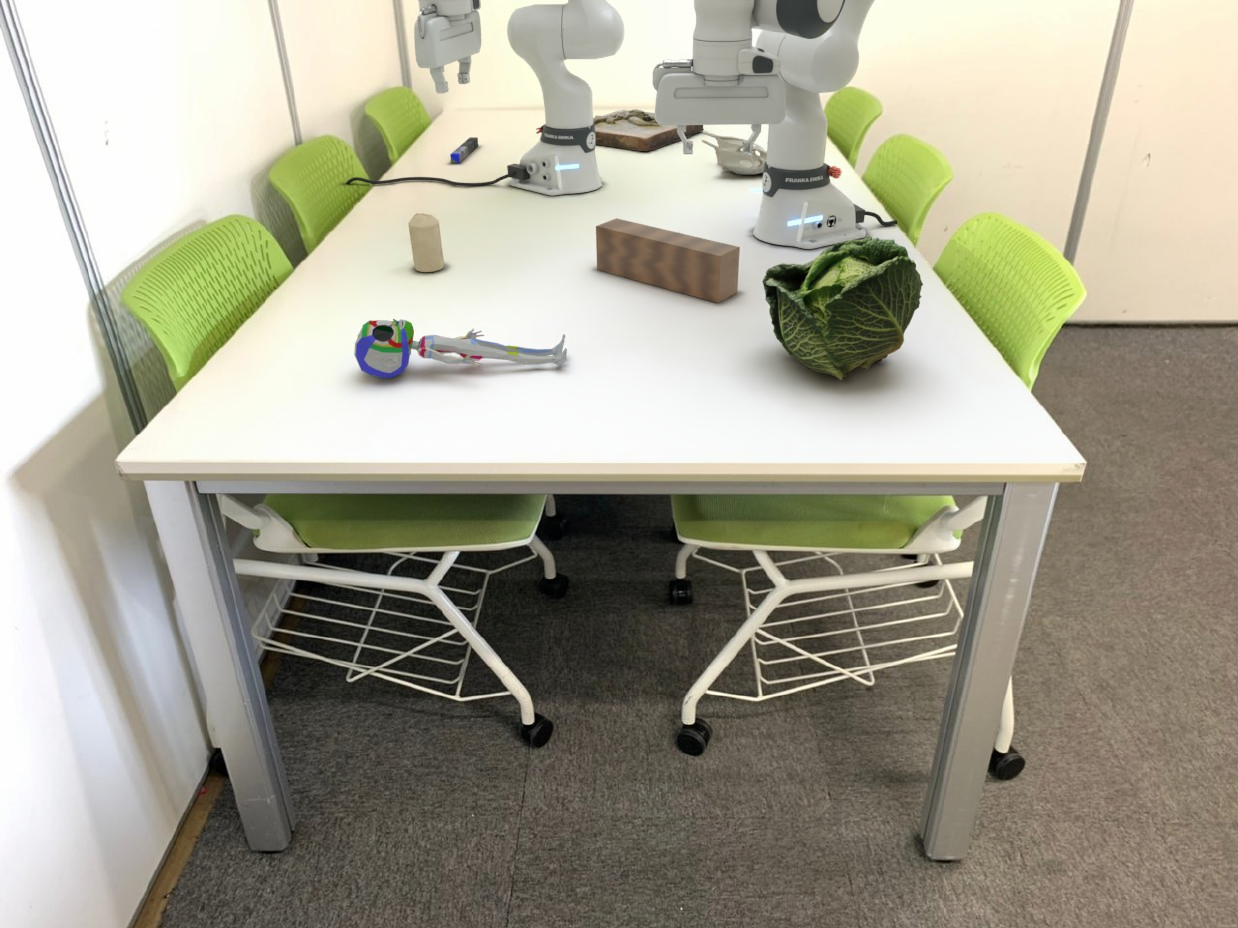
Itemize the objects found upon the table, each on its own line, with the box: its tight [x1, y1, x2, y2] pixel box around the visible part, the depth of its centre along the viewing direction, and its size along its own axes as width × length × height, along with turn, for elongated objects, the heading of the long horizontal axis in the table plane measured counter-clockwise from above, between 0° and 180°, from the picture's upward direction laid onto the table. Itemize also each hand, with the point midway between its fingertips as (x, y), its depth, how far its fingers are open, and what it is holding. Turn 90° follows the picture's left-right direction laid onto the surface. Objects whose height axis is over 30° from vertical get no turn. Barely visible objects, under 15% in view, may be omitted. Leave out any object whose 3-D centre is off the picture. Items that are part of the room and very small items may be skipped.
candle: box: [407, 212, 445, 273], centre depth 166 cm, size 6×6×10 cm
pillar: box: [449, 137, 479, 164], centre depth 242 cm, size 2×2×20 cm
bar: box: [595, 218, 741, 304], centre depth 159 cm, size 27×6×8 cm, turn 51°
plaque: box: [593, 108, 705, 152], centre depth 257 cm, size 30×7×30 cm
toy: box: [353, 318, 568, 379], centre depth 130 cm, size 10×8×30 cm
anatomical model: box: [701, 131, 767, 176], centre depth 221 cm, size 15×9×25 cm
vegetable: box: [762, 236, 924, 381], centre depth 127 cm, size 20×19×20 cm
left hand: (453, 88), depth 162 cm, fingers open, 8 cm apart
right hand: (717, 153), depth 143 cm, fingers open, 8 cm apart
